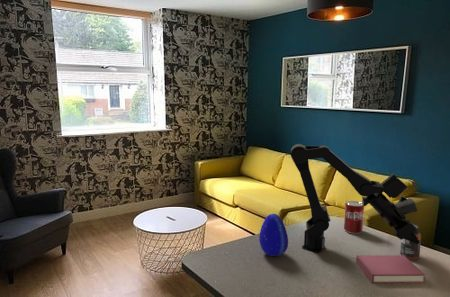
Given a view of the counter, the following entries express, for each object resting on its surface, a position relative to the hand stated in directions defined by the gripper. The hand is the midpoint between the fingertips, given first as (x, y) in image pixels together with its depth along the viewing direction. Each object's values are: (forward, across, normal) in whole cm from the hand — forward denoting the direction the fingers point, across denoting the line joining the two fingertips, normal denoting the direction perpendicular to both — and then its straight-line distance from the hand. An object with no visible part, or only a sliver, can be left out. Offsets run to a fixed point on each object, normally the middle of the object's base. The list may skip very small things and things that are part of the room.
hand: (415, 239), depth 116 cm
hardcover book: (-3, -13, +13) cm, 19 cm away
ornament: (-29, -9, +39) cm, 50 cm away
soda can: (-7, +19, +17) cm, 27 cm away
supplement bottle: (+4, 0, +6) cm, 7 cm away
